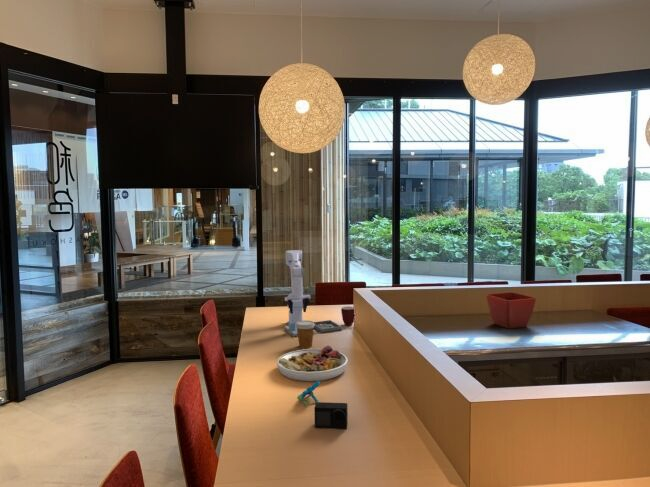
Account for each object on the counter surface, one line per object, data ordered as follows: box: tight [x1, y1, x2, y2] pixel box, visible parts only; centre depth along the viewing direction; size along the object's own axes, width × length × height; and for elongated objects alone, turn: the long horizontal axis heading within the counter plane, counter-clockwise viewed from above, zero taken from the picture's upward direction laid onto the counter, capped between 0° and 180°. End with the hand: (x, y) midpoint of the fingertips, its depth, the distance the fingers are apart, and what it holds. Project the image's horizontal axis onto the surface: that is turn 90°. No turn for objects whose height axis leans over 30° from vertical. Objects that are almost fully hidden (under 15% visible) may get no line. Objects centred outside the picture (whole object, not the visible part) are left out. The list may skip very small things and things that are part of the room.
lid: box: [284, 322, 317, 335], centre depth 265 cm, size 16×12×5 cm
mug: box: [340, 306, 355, 327], centre depth 276 cm, size 10×8×10 cm
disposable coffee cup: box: [296, 320, 315, 349], centre depth 238 cm, size 10×10×12 cm
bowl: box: [276, 345, 348, 382], centre depth 205 cm, size 30×30×8 cm
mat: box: [284, 327, 318, 338], centre depth 265 cm, size 16×13×1 cm
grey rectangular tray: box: [313, 319, 343, 334], centre depth 271 cm, size 16×12×2 cm
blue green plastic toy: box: [296, 381, 321, 407], centre depth 173 cm, size 11×6×10 cm
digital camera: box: [313, 401, 349, 430], centre depth 154 cm, size 10×5×7 cm, turn 83°
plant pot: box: [486, 291, 537, 329], centre depth 270 cm, size 19×19×17 cm
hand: (298, 312), depth 266 cm, fingers open, 7 cm apart
